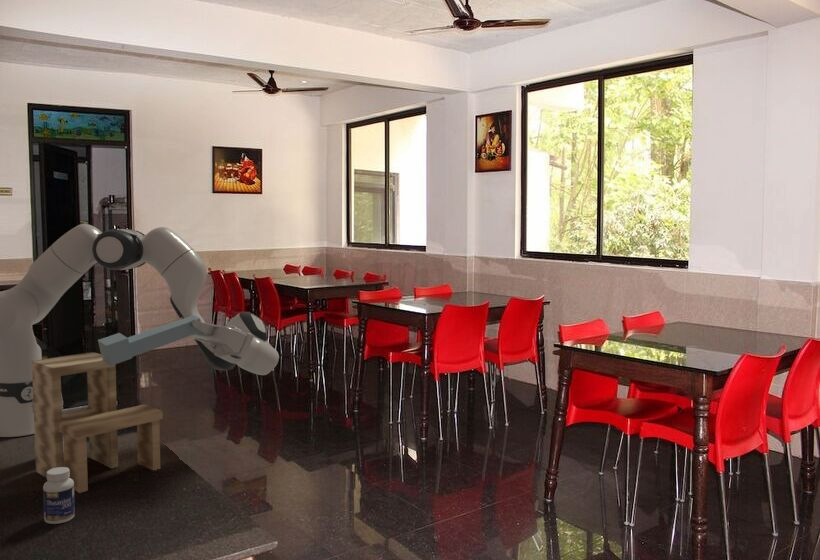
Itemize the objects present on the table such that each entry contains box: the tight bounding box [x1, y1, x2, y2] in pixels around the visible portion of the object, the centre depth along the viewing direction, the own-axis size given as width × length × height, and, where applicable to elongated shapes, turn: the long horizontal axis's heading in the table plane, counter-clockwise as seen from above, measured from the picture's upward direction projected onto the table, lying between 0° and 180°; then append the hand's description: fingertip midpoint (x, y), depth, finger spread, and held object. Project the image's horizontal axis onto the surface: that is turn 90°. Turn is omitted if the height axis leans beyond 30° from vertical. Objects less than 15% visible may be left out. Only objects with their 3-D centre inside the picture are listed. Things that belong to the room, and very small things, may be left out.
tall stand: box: [32, 351, 119, 479], centre depth 158 cm, size 11×14×26 cm
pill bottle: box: [42, 467, 76, 525], centre depth 133 cm, size 5×5×10 cm
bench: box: [59, 403, 164, 494], centre depth 155 cm, size 8×20×14 cm, turn 140°
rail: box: [97, 315, 202, 366], centre depth 162 cm, size 5×23×5 cm, turn 134°
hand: (187, 321), depth 167 cm, fingers closed on rail, 4 cm apart
